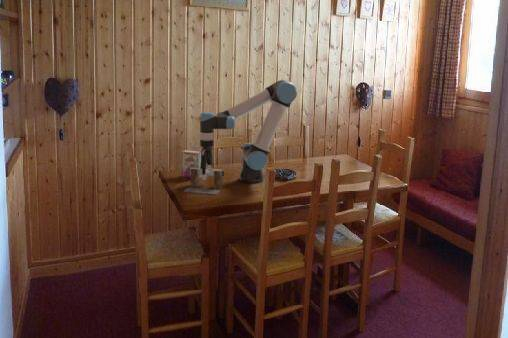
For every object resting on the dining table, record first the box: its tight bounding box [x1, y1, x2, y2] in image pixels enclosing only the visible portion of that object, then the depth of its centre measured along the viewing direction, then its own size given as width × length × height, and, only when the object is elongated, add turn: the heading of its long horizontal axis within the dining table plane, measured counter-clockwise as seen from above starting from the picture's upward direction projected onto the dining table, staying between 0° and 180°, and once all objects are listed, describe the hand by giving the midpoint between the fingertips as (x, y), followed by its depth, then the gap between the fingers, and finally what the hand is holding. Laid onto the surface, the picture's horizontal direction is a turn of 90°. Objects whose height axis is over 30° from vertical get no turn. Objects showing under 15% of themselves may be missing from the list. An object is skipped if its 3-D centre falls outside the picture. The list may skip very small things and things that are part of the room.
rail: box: [189, 167, 225, 178], centre depth 294 cm, size 20×4×4 cm, turn 78°
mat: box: [183, 186, 221, 196], centre depth 285 cm, size 19×8×1 cm, turn 78°
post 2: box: [213, 167, 223, 190], centre depth 293 cm, size 3×7×11 cm, turn 168°
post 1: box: [190, 166, 200, 188], centre depth 296 cm, size 3×7×11 cm, turn 168°
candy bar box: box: [181, 149, 202, 179], centre depth 313 cm, size 11×5×16 cm, turn 70°
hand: (206, 177), depth 295 cm, fingers open, 8 cm apart
